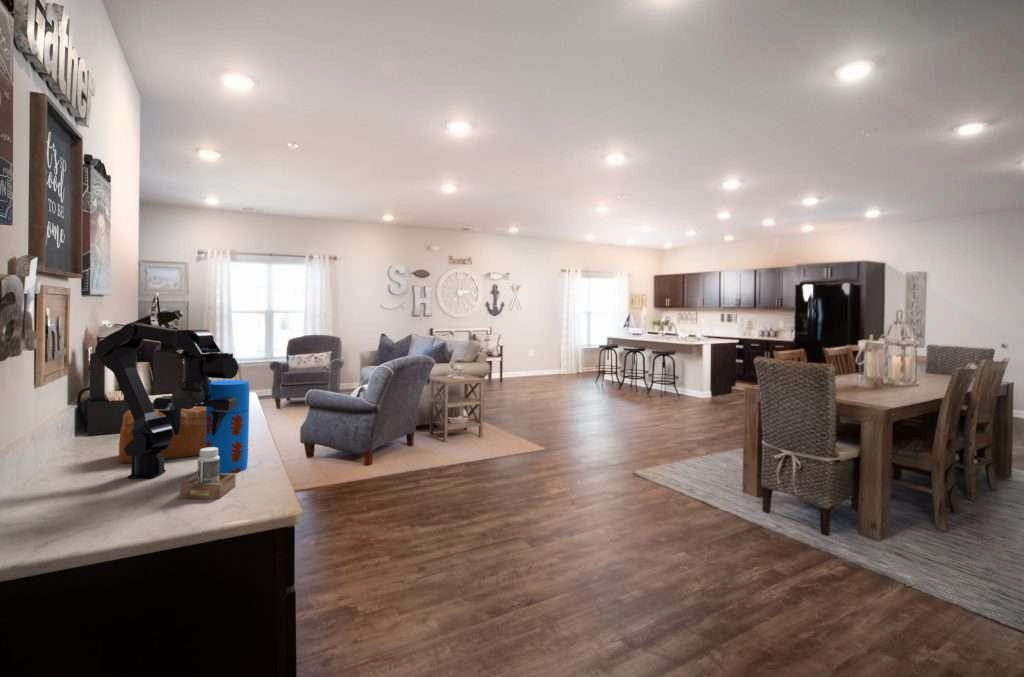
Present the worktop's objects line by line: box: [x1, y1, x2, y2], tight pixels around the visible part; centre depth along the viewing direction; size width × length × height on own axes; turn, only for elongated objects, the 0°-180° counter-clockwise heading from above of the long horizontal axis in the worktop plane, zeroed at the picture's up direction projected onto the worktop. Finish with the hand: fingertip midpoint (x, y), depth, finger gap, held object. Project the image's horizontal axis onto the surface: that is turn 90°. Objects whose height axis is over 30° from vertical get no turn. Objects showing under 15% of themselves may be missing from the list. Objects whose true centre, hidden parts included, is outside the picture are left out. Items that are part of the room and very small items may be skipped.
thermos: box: [205, 379, 251, 474], centre depth 147 cm, size 11×11×25 cm
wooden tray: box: [179, 473, 237, 500], centre depth 128 cm, size 9×9×4 cm
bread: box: [118, 406, 206, 464], centre depth 160 cm, size 14×26×16 cm, turn 128°
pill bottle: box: [196, 447, 220, 483], centre depth 128 cm, size 5×5×8 cm
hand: (195, 435), depth 136 cm, fingers open, 9 cm apart
